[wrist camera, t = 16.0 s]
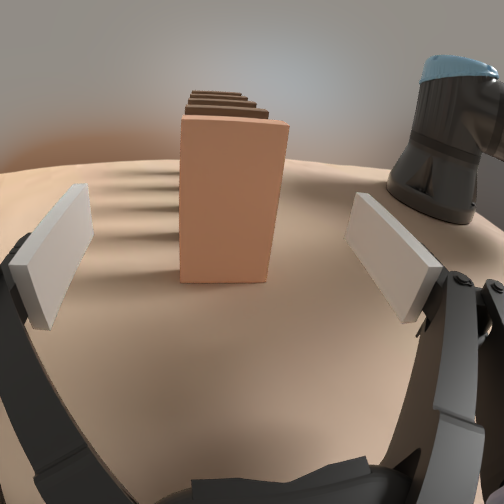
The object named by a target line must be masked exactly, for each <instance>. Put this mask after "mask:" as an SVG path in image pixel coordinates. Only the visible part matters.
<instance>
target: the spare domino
mask: <svg viewBox="0 0 504 504" xmlns="http://www.w3.org/2000/svg"><path fill="white" fill-rule="evenodd" d="M181 121H182V122H181V143H180V179H179V247H180V283H257V282H266V278H267V272H268V265H269V259H270V253H271V247H272V240H273V234H274V228H275V221H276V215H277V208H278V202H279V195H280V188H281V182H282V175H283V168H284V162H285V154H286V148H287V141H288V134H289V127H290V126H289V125H288V124H287V123H285V122H283V121H279V120H268V119H257V118H244V117H228V116H204V115H183V117H182V120H181Z"/></svg>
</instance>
